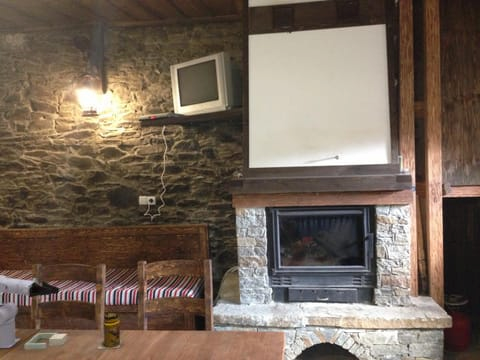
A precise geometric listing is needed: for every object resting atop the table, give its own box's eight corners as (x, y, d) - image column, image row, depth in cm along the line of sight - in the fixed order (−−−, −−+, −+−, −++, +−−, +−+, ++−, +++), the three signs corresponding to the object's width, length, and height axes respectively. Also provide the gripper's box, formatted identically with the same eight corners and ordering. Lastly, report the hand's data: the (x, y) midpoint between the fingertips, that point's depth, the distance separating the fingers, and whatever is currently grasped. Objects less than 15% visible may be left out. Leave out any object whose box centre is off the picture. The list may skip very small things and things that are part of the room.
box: (24, 349, 160) (24, 344, 160) (38, 337, 171) (38, 333, 171) (45, 349, 160) (45, 344, 160) (57, 337, 171) (57, 332, 171)
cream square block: (49, 346, 163) (49, 339, 163) (55, 341, 168) (54, 334, 168) (62, 346, 163) (61, 338, 163) (67, 340, 168) (66, 333, 168)
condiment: (119, 347, 160) (118, 317, 159) (97, 349, 159) (96, 318, 158) (122, 340, 167) (121, 310, 167) (100, 341, 166) (99, 312, 165)
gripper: (14, 277, 158) (49, 281, 159) (31, 276, 173) (63, 280, 173) (10, 296, 157) (45, 300, 157) (27, 293, 171) (60, 297, 171)
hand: (54, 291), depth 165 cm, fingers open, 7 cm apart
